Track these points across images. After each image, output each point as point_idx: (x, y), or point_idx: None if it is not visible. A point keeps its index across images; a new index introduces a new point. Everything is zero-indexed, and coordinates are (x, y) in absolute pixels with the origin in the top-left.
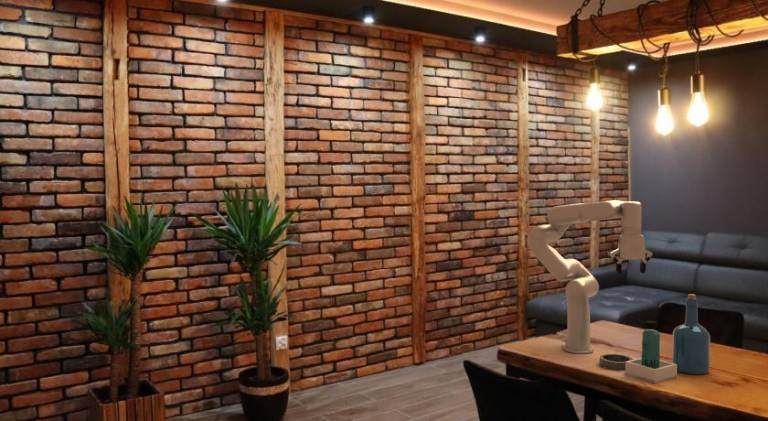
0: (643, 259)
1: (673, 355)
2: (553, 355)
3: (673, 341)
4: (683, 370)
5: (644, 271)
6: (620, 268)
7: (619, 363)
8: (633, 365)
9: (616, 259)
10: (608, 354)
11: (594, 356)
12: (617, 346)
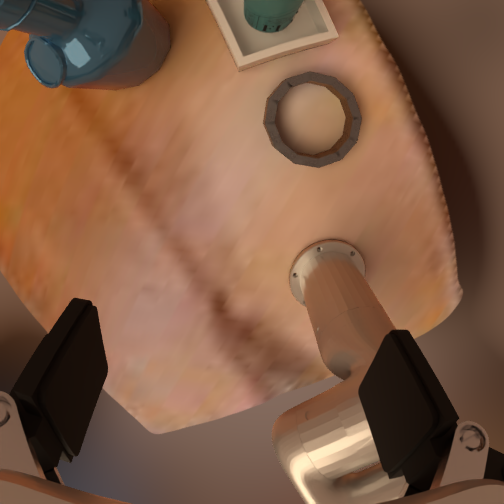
0: (9, 466)
1: (159, 45)
2: (408, 243)
3: (144, 42)
4: (163, 17)
5: (71, 310)
6: (426, 372)
7: (330, 76)
8: (326, 12)
9: (494, 474)
10: (315, 161)
11: (320, 213)
12: (205, 288)
